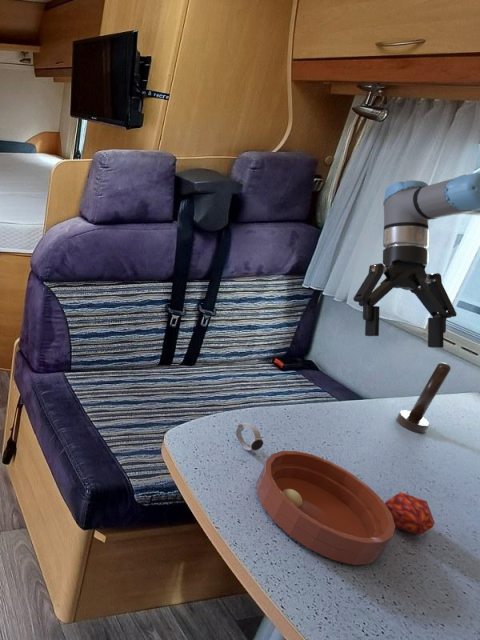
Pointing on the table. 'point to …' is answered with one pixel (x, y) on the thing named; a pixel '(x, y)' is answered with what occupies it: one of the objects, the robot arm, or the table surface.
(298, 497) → the dough ball
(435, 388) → the wooden handled stamp
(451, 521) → the table surface
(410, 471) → the table surface
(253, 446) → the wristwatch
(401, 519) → the decorative stone
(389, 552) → the table surface
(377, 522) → the bowl
